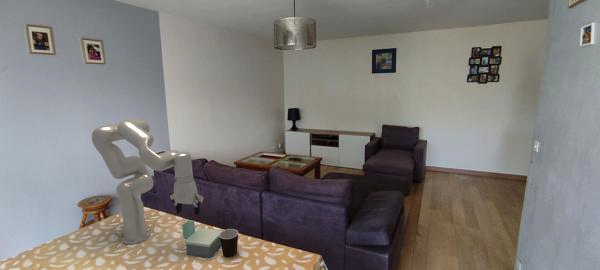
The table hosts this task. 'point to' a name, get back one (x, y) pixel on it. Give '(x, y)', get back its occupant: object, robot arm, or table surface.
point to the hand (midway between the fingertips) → (188, 213)
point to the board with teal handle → (199, 235)
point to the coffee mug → (229, 242)
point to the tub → (203, 249)
